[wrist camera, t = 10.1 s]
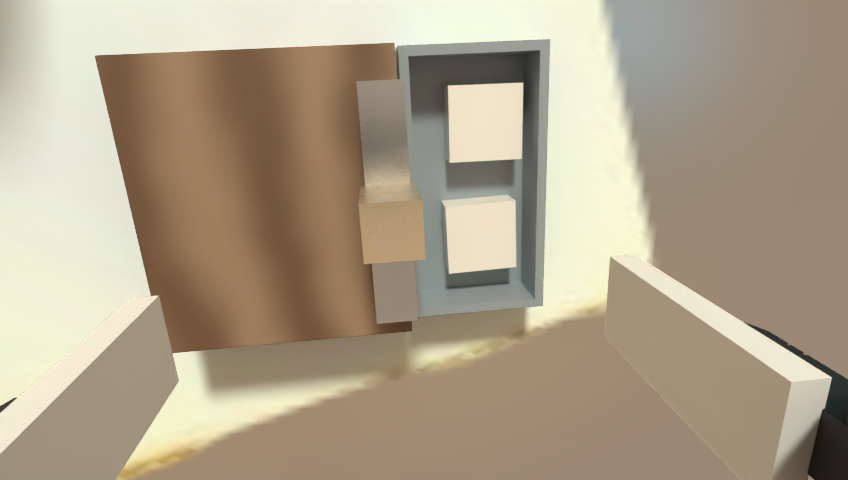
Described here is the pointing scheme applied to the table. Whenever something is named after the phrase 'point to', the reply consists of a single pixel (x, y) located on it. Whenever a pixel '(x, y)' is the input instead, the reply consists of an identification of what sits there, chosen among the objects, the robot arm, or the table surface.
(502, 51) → the box
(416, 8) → the table surface
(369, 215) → the gray bar with knob
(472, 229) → the tile
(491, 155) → the tile
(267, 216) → the wood grain panel
